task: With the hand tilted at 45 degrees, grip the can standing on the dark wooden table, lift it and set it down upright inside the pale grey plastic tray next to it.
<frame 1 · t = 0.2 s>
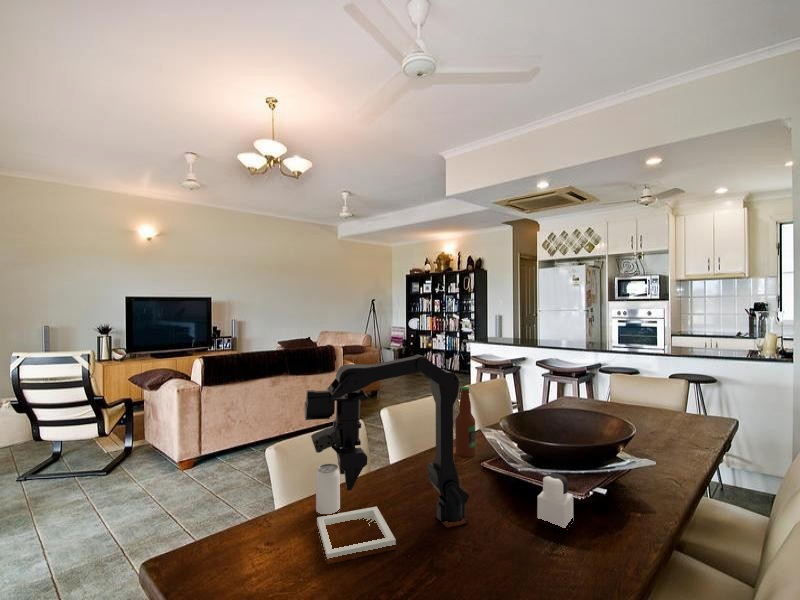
hand: (345, 481, 100), 14 cm above the table, tool pointing down, fingers open, 9 cm apart
bottle: (465, 454, 154), on the table
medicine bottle: (555, 523, 107), on the table
tray: (354, 538, 101), on the table
can: (328, 511, 114), on the table
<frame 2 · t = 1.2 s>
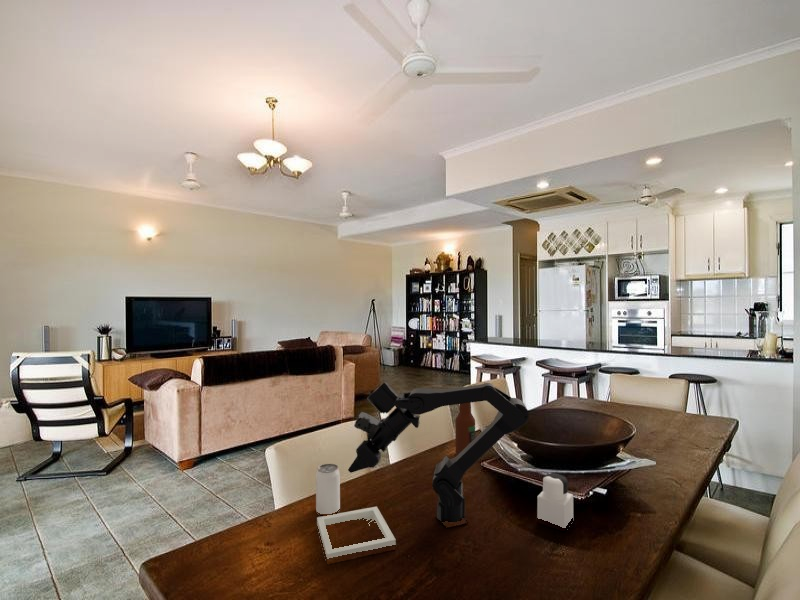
hand: (353, 464, 112), 13 cm above the table, tool tilted 45°, fingers open, 9 cm apart
nothing on the table moved.
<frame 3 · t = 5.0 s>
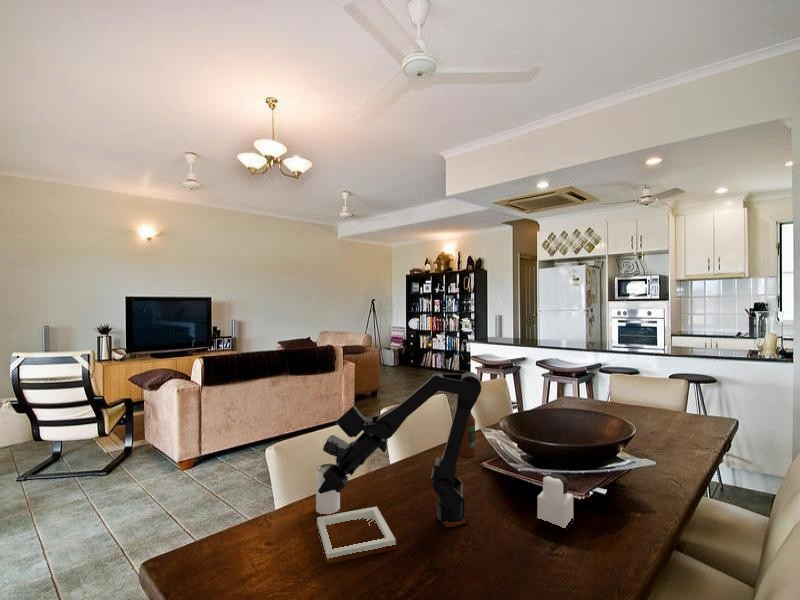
hand: (323, 486, 114), 7 cm above the table, tool tilted 45°, fingers closed on can, 6 cm apart
can: (328, 511, 114), on the table, touching gripper
everything else where it was.
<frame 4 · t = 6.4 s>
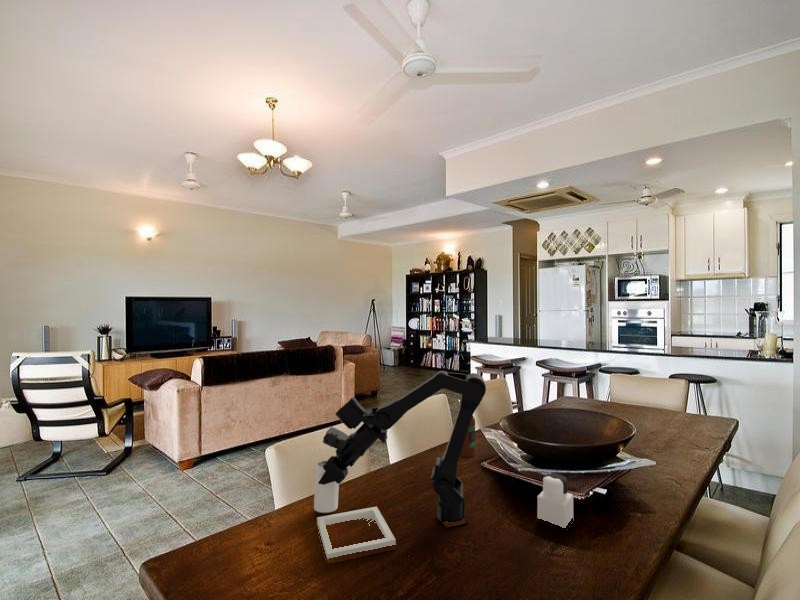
hand: (323, 479, 114), 9 cm above the table, tool tilted 45°, fingers closed on can, 6 cm apart
can: (325, 509, 113), point 1 cm above the table, touching gripper
everything else where it was.
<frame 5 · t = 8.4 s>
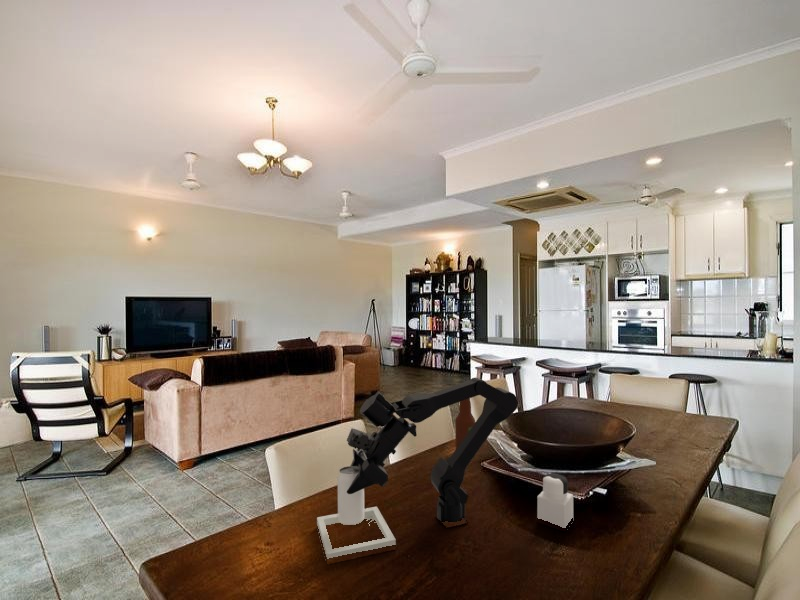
hand: (346, 487, 101), 12 cm above the table, tool tilted 45°, fingers closed on can, 6 cm apart
can: (351, 521, 101), point 4 cm above the table, touching gripper
everything else where it was.
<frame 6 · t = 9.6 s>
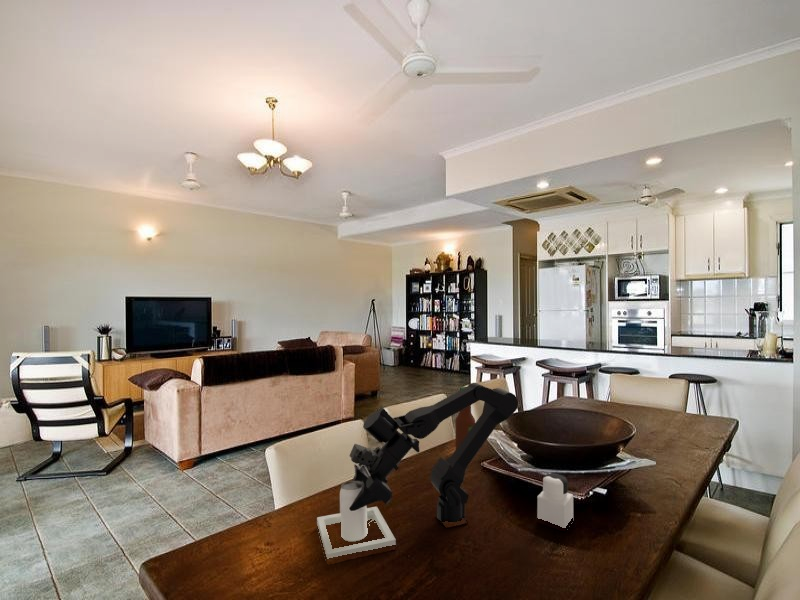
hand: (348, 503, 100), 9 cm above the table, tool tilted 45°, fingers closed on can, 6 cm apart
can: (354, 536, 100), point 1 cm above the table, touching gripper, tray
everything else where it was.
when the fingers open (9 cm above the table, at t = 10.5 s): can stays where it is, resting on tray.
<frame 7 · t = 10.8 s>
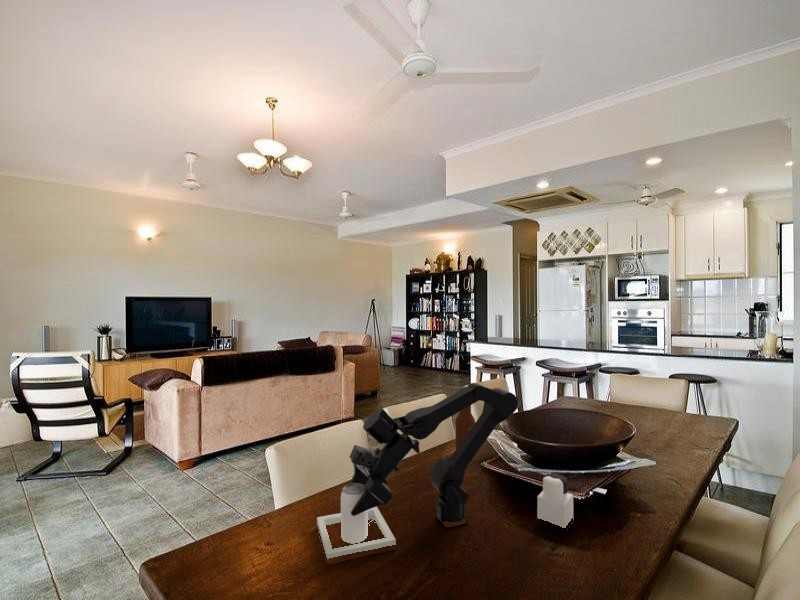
hand: (348, 505, 100), 8 cm above the table, tool tilted 45°, fingers open, 9 cm apart
can: (354, 538, 100), point 1 cm above the table, touching tray
everything else where it was.
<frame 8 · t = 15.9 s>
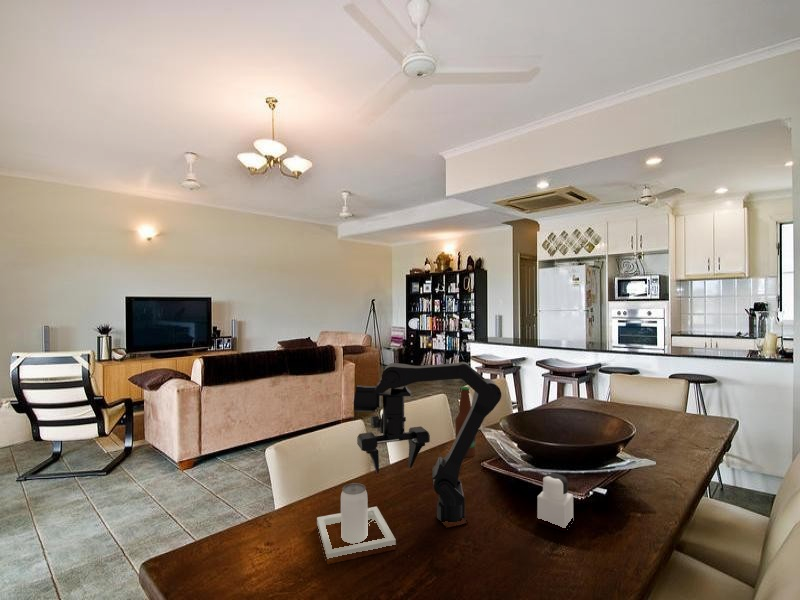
hand: (393, 470, 109), 13 cm above the table, tool pointing down, fingers open, 9 cm apart
nothing on the table moved.
at the end: can inside the target area on the tray (1.1 cm from its centre), point 0.6 cm above the tray's base; can tilted 0°; the gripper is holding nothing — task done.
